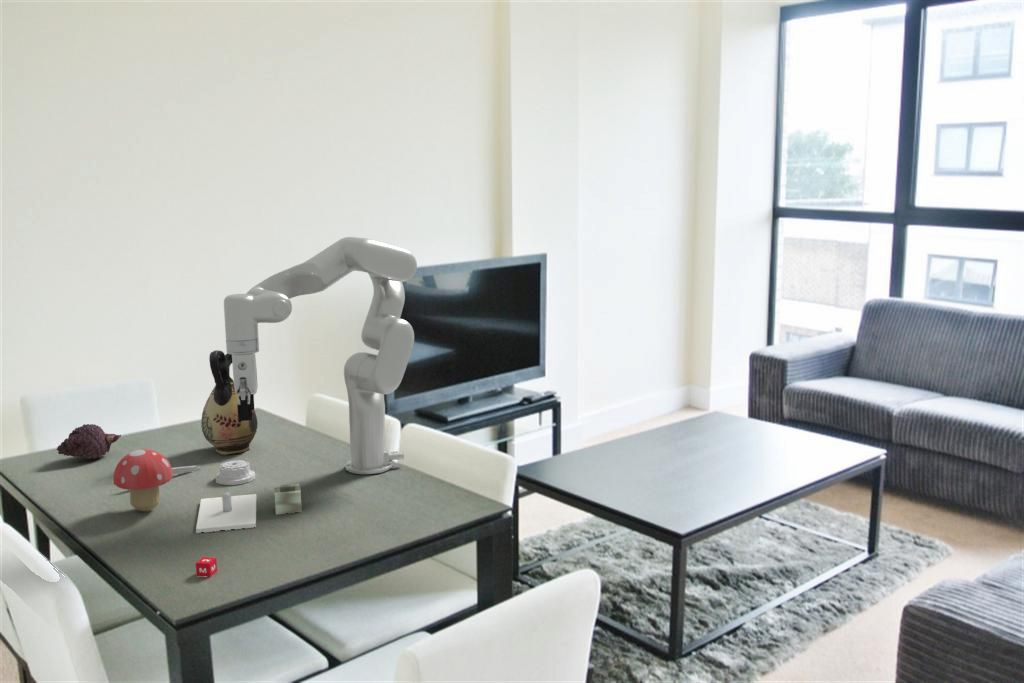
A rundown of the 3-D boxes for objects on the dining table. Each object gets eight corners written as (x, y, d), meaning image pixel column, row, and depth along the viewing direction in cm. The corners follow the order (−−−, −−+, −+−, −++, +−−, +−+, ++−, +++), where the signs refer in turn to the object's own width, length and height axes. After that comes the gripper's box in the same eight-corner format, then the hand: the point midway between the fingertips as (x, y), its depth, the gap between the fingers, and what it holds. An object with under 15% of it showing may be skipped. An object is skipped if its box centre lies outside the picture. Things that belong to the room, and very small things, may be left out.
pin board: (256, 497, 238) (255, 476, 237) (256, 527, 219) (254, 504, 218) (201, 502, 235) (199, 481, 234) (196, 533, 216) (194, 510, 215)
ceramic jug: (217, 441, 285) (210, 342, 280) (267, 443, 283) (261, 343, 278) (191, 459, 269) (183, 354, 263) (243, 461, 267) (236, 355, 261)
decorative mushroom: (105, 512, 229) (99, 452, 226) (157, 497, 239) (152, 439, 236) (134, 525, 221) (129, 463, 218) (186, 509, 231) (182, 449, 228)
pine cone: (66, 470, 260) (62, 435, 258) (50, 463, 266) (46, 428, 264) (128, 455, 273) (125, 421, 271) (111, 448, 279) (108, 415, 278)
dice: (196, 576, 194) (195, 562, 193) (203, 570, 196) (202, 556, 196) (210, 577, 193) (209, 563, 193) (217, 571, 196) (216, 557, 195)
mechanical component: (208, 485, 248) (244, 487, 246) (207, 468, 247) (243, 471, 245) (227, 472, 258) (261, 475, 256) (226, 457, 257) (260, 459, 255)
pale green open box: (300, 503, 234) (299, 483, 233) (301, 512, 228) (300, 492, 227) (275, 505, 232) (274, 486, 231) (275, 514, 227) (274, 494, 226)
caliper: (135, 491, 244) (133, 468, 243) (133, 490, 245) (131, 467, 243) (201, 469, 261) (200, 447, 259) (199, 469, 261) (197, 447, 260)
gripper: (257, 352, 222) (260, 423, 225) (260, 338, 239) (263, 405, 242) (223, 353, 221) (227, 425, 224) (229, 340, 237) (233, 407, 241)
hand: (246, 415), depth 233 cm, fingers open, 9 cm apart
